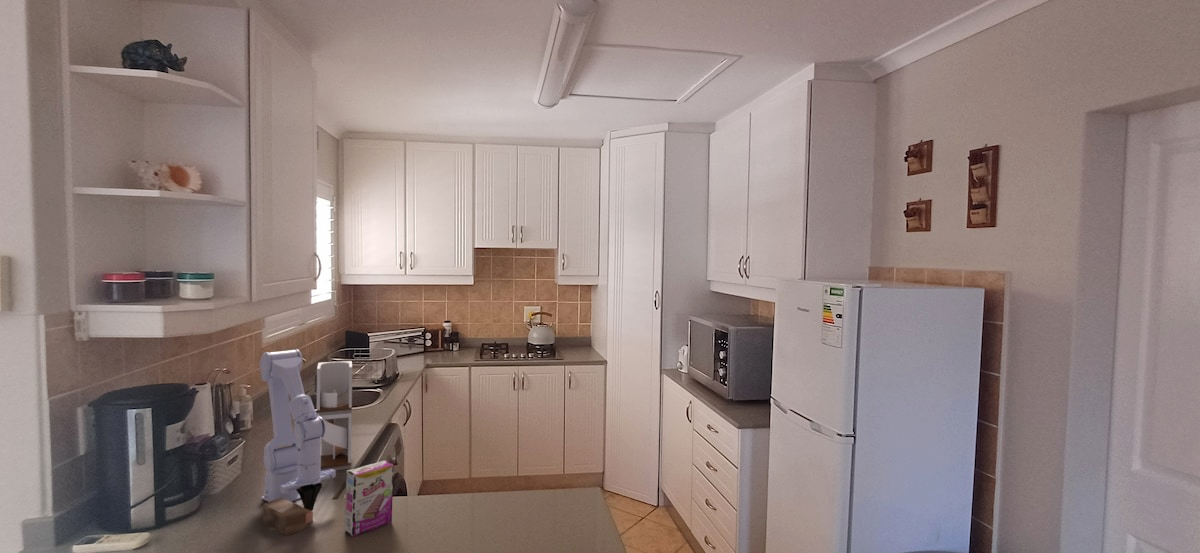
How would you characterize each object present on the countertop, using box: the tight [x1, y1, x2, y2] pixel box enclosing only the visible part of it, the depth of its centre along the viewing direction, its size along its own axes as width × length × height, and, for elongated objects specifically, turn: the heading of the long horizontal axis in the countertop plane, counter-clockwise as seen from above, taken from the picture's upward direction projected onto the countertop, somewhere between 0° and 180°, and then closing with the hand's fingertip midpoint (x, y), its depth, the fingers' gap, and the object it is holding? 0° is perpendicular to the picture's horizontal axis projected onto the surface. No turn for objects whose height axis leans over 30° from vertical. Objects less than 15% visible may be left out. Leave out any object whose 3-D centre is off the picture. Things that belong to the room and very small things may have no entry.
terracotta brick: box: [296, 503, 314, 525], centre depth 148 cm, size 8×7×3 cm
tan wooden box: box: [262, 498, 307, 537], centre depth 146 cm, size 12×5×5 cm, turn 58°
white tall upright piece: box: [316, 360, 353, 471], centre depth 188 cm, size 11×11×35 cm
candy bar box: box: [344, 460, 395, 537], centre depth 147 cm, size 11×5×16 cm, turn 141°
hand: (308, 510), depth 152 cm, fingers closed
